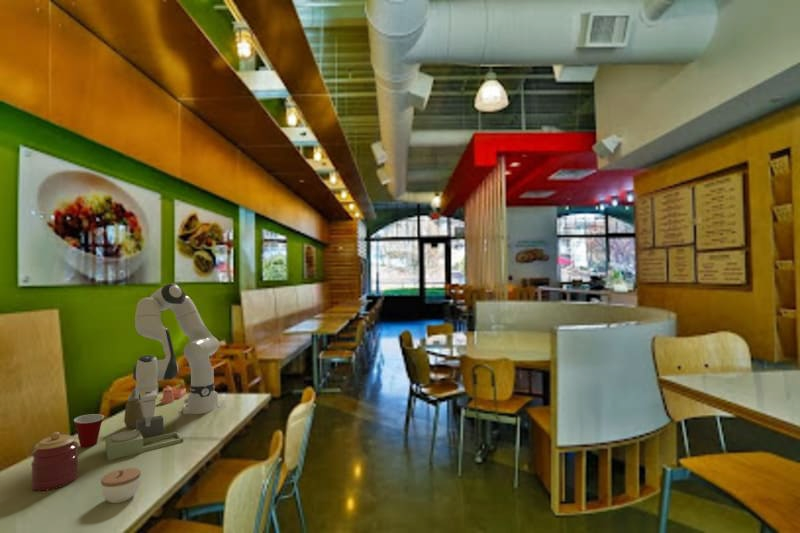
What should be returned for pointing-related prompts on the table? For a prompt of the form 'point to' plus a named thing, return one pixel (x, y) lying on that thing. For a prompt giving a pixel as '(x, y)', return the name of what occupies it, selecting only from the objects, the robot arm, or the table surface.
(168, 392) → the pottery
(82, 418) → the plastic cup
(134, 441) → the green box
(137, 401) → the squeeze bottle
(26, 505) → the table surface
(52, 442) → the canister
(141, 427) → the tall grey box
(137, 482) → the lidded jar
